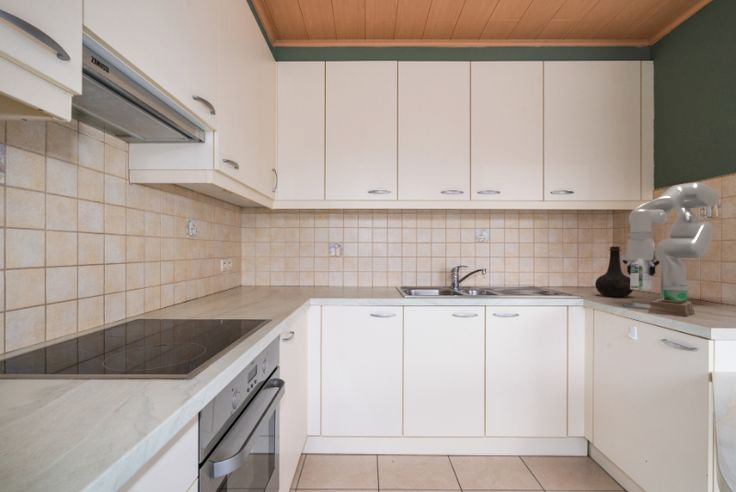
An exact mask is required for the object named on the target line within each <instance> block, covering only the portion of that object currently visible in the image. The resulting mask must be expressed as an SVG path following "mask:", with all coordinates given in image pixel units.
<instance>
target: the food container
mask: <svg viewBox="0 0 736 492" xmlns="http://www.w3.org/2000/svg"><path fill="white" fill-rule="evenodd" d="M662 290H663V292H664V300H670V301H681V302H687V301H688V291H690V287H689V285H687V284H686V285H681V284H680V286H669V285H663V287H662Z"/></svg>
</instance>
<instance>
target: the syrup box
mask: <svg viewBox="0 0 736 492" xmlns="http://www.w3.org/2000/svg"><path fill="white" fill-rule="evenodd" d="M650 267H651V265H650V263H649V262H648V261H643V258H642V259H638V260H637V261H632V262H631V275H630V277H629V278H630V289H634V290H633V291H636V290H637V291H652V276H650Z"/></svg>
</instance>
